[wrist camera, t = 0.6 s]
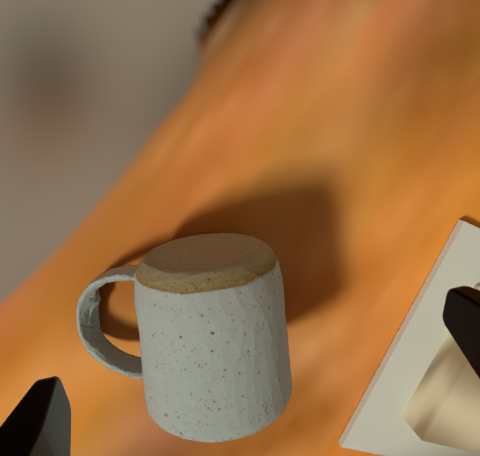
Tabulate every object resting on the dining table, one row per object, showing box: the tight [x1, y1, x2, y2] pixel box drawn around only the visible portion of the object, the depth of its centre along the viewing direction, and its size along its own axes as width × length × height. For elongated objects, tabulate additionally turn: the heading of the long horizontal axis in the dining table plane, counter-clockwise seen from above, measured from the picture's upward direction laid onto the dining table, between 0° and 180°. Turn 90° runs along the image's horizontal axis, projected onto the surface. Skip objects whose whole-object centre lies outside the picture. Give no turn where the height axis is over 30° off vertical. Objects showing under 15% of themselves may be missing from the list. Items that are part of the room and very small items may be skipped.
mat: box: [338, 219, 480, 456], centre depth 31 cm, size 18×14×1 cm
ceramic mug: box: [76, 233, 292, 442], centre depth 21 cm, size 11×8×8 cm
